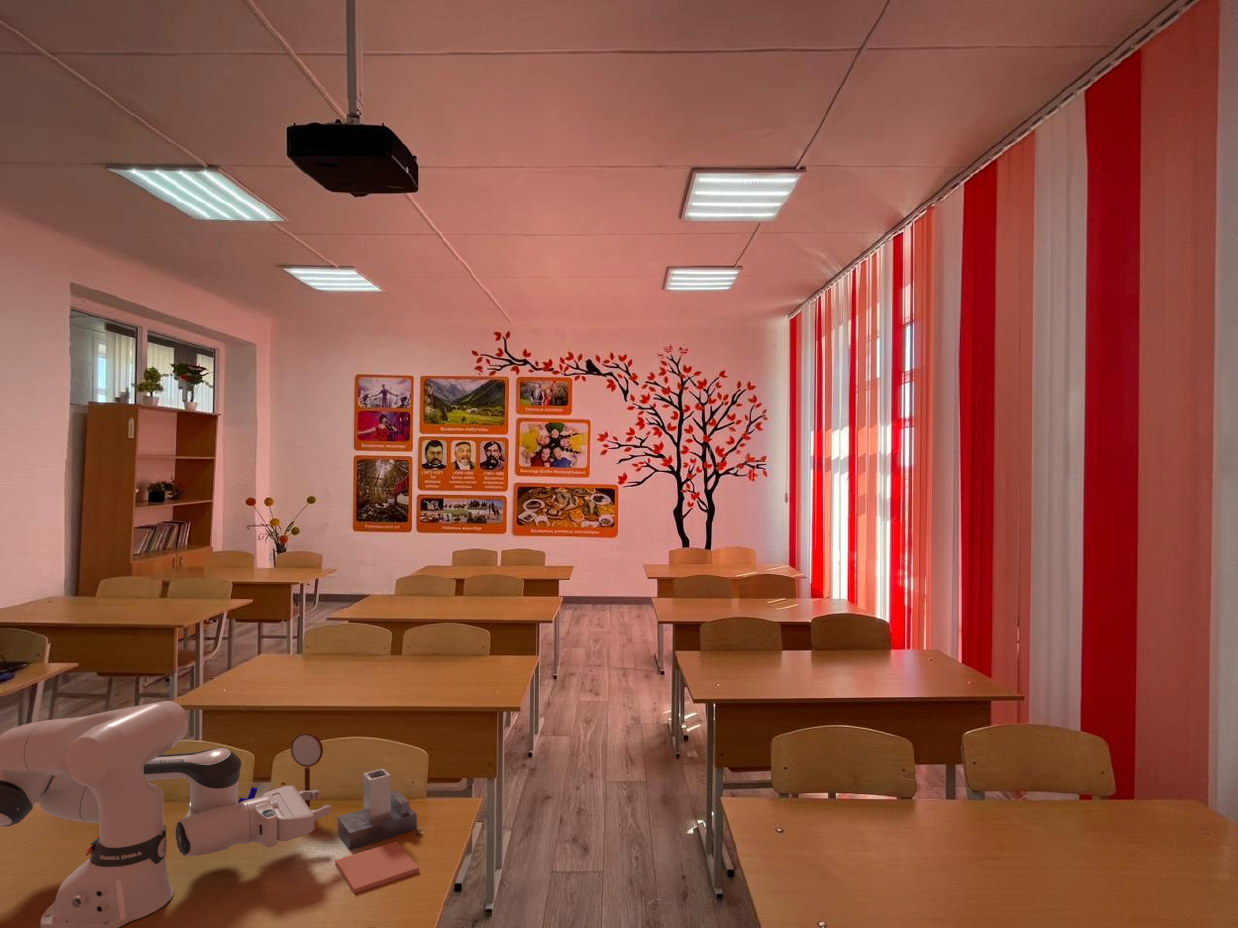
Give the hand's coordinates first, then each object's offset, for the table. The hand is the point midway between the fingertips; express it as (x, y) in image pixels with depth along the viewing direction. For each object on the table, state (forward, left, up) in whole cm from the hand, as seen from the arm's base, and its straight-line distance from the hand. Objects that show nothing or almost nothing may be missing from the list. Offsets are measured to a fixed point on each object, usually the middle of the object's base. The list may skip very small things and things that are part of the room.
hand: (324, 801), depth 179 cm
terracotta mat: (+14, -12, -10) cm, 21 cm away
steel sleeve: (+11, +5, -6) cm, 14 cm away
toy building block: (-23, +17, -11) cm, 31 cm away
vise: (+11, +5, -10) cm, 16 cm away
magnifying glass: (-9, +19, -11) cm, 24 cm away
